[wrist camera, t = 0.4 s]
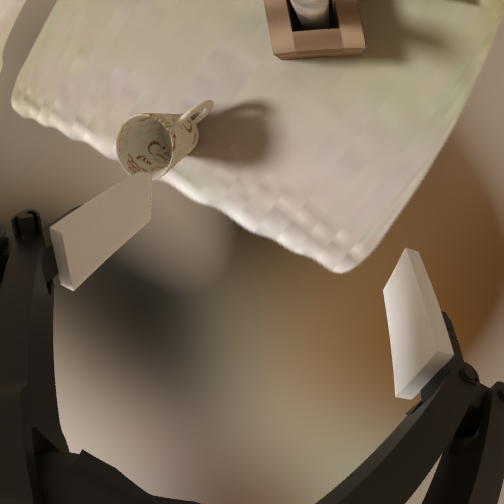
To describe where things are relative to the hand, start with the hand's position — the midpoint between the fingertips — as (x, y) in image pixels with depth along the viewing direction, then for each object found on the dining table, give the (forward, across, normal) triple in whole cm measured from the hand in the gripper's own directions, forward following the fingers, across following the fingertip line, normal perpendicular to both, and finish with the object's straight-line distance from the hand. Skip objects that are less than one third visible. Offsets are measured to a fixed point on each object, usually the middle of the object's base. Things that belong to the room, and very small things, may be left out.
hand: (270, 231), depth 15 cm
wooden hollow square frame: (+27, -3, +16) cm, 32 cm away
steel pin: (+27, -3, +16) cm, 32 cm away
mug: (+27, -16, -2) cm, 32 cm away
